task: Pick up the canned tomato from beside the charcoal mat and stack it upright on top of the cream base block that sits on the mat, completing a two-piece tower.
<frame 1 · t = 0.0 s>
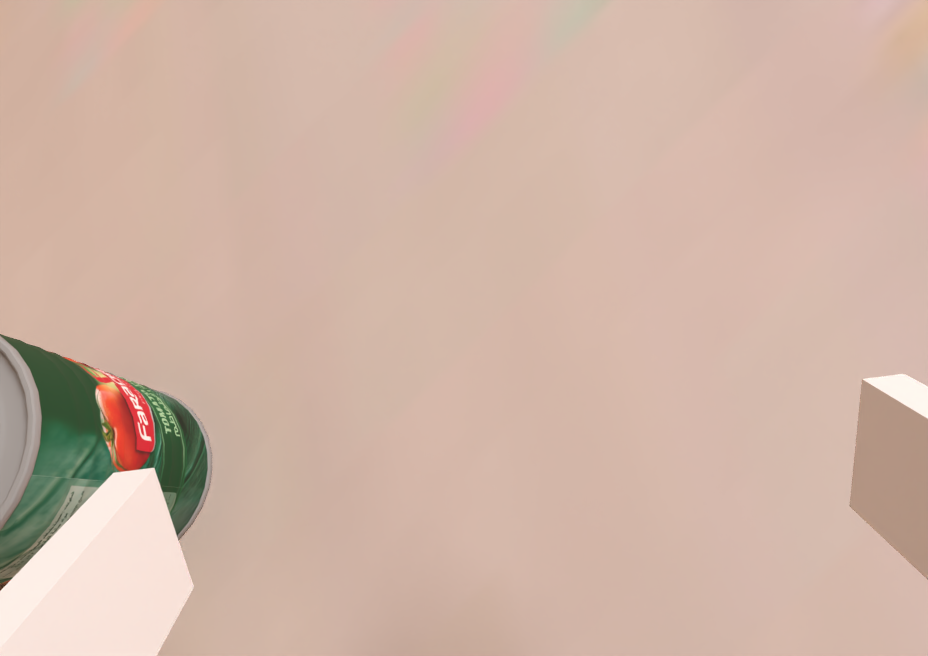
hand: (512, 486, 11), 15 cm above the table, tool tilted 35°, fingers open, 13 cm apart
canned tomato: (128, 475, 27), on the table
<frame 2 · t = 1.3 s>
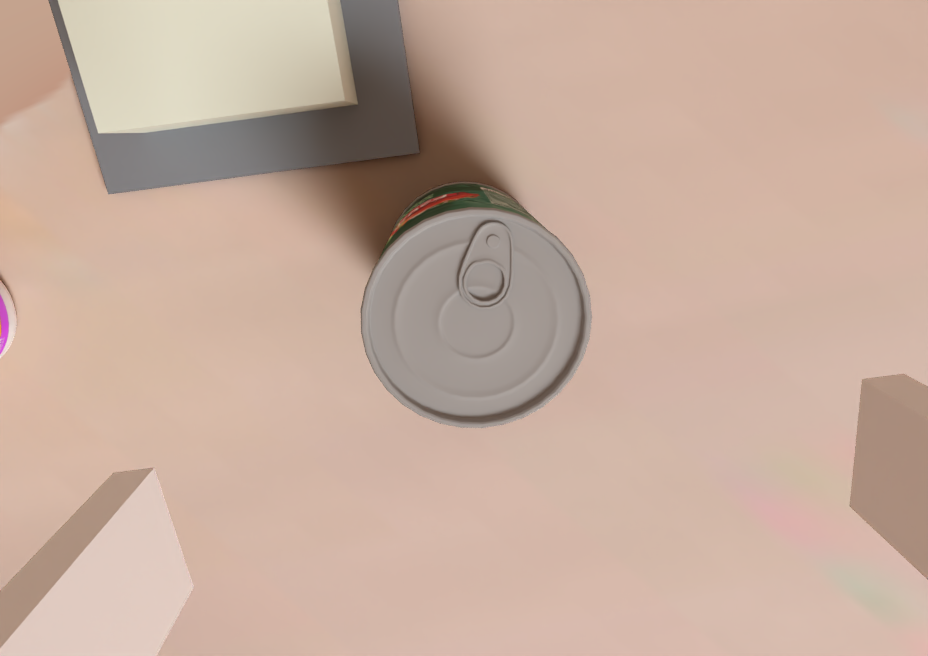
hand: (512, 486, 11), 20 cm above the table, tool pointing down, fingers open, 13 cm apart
charcoal blueprint mat: (227, 0, 27), on the table
canned tomato: (464, 258, 31), on the table
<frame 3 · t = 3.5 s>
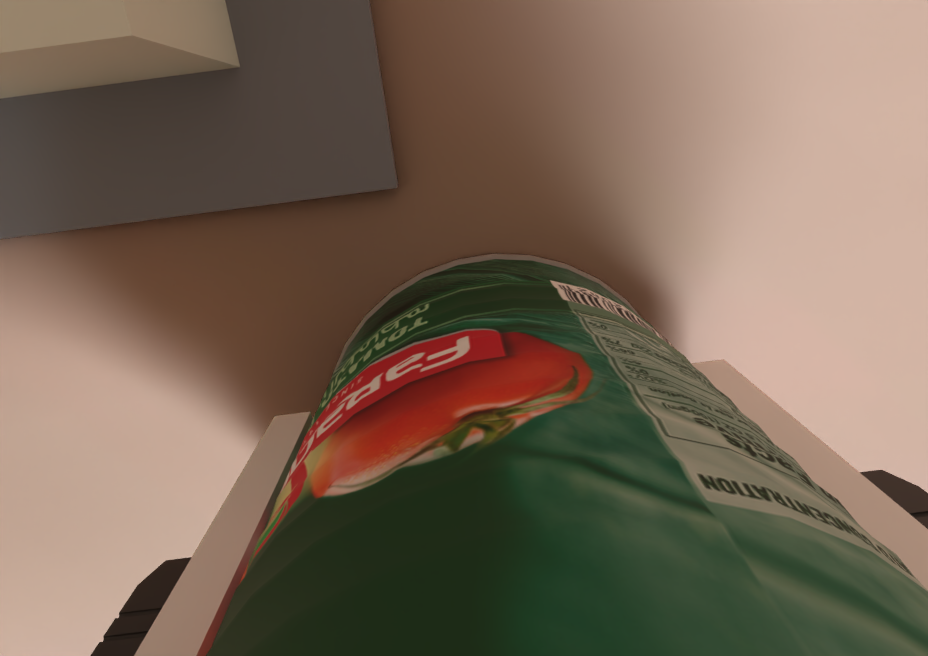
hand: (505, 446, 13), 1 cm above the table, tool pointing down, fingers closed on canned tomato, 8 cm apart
canned tomato: (499, 415, 14), on the table, touching gripper
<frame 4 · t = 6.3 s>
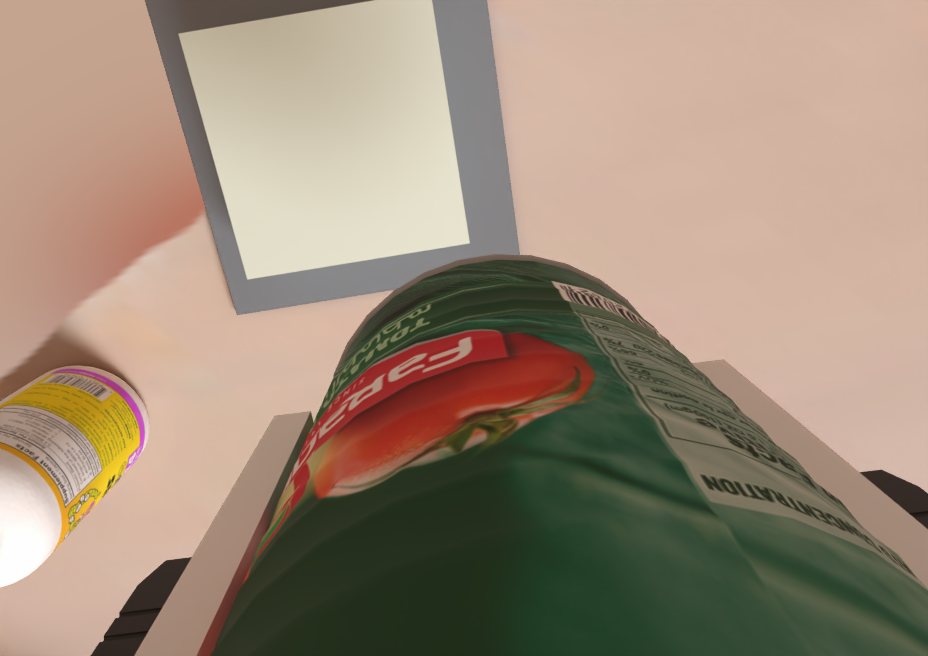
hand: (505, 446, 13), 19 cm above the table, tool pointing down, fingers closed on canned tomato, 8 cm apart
supplement bottle: (95, 414, 33), on the table
charcoal blueprint mat: (348, 142, 29), on the table
cream base block: (347, 142, 29), resting on charcoal blueprint mat
canned tomato: (500, 415, 14), point 18 cm above the table, touching gripper
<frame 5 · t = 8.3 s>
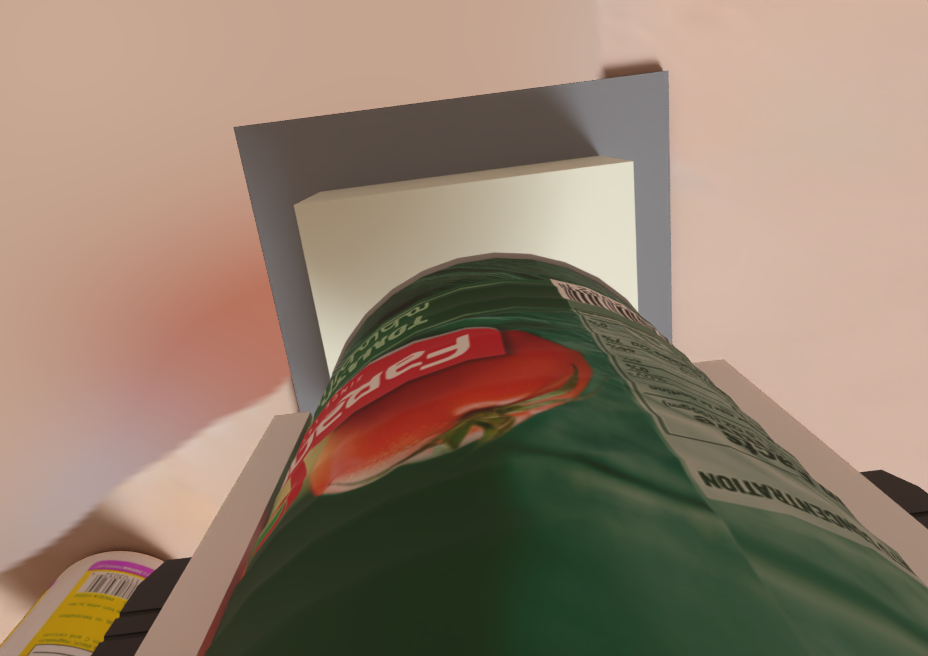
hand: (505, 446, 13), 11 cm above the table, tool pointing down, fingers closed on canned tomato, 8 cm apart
supplement bottle: (136, 601, 27), on the table
charcoal blueprint mat: (475, 304, 23), on the table
cream base block: (475, 307, 23), resting on charcoal blueprint mat
canned tomato: (499, 414, 14), point 10 cm above the table, touching gripper
when the fingers open (7 cm above the table, at t = 9.5 s): canned tomato drops 2 cm, resting on cream base block.
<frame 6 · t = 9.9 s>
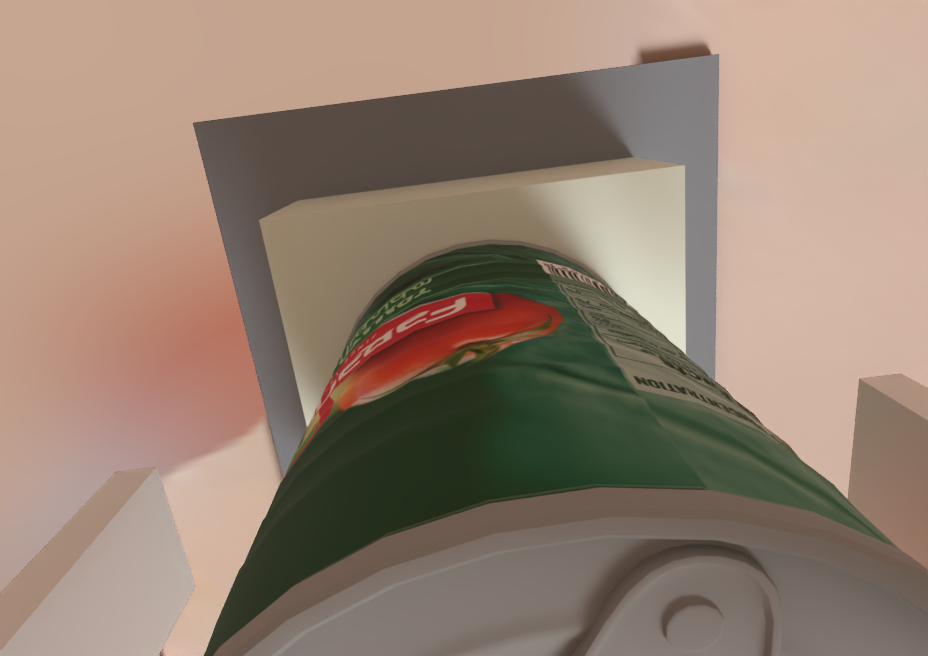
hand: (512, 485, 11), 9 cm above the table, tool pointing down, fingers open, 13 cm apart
charcoal blueprint mat: (483, 332, 20), on the table
cream base block: (484, 336, 19), resting on charcoal blueprint mat, touching canned tomato
canned tomato: (493, 386, 16), point 4 cm above the table, touching cream base block
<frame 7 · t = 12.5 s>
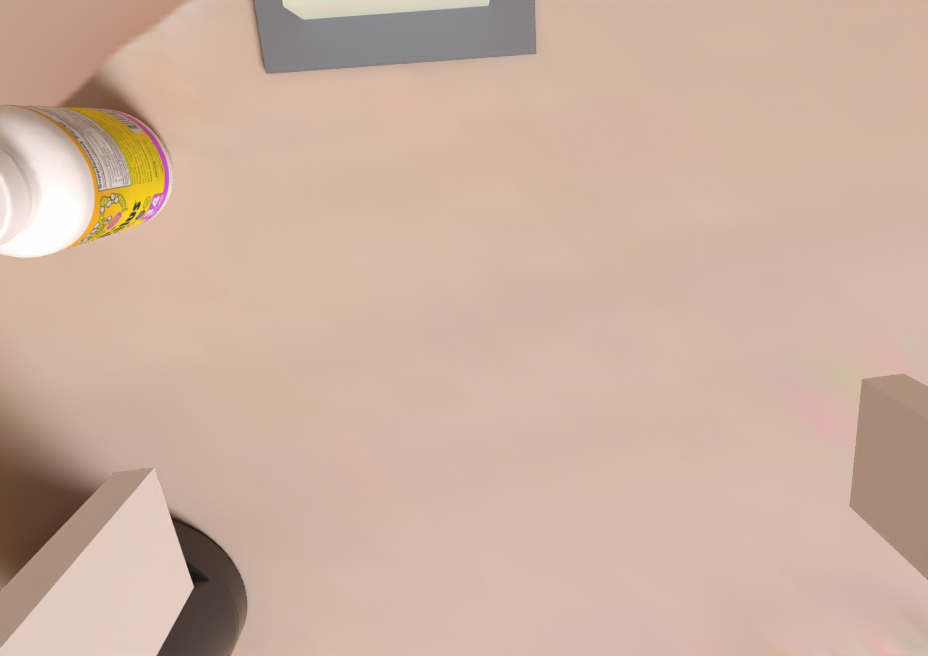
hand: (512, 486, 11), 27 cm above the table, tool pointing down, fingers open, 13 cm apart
supplement bottle: (122, 168, 35), on the table
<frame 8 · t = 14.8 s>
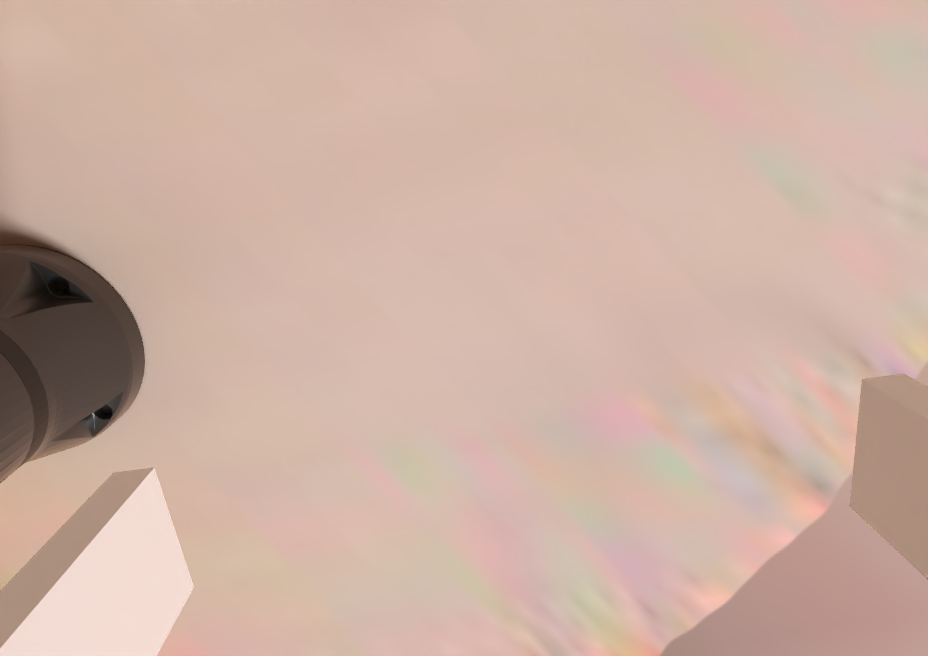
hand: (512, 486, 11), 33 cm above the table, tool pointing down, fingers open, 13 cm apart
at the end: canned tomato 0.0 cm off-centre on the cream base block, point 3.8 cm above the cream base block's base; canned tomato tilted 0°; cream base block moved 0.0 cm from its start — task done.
